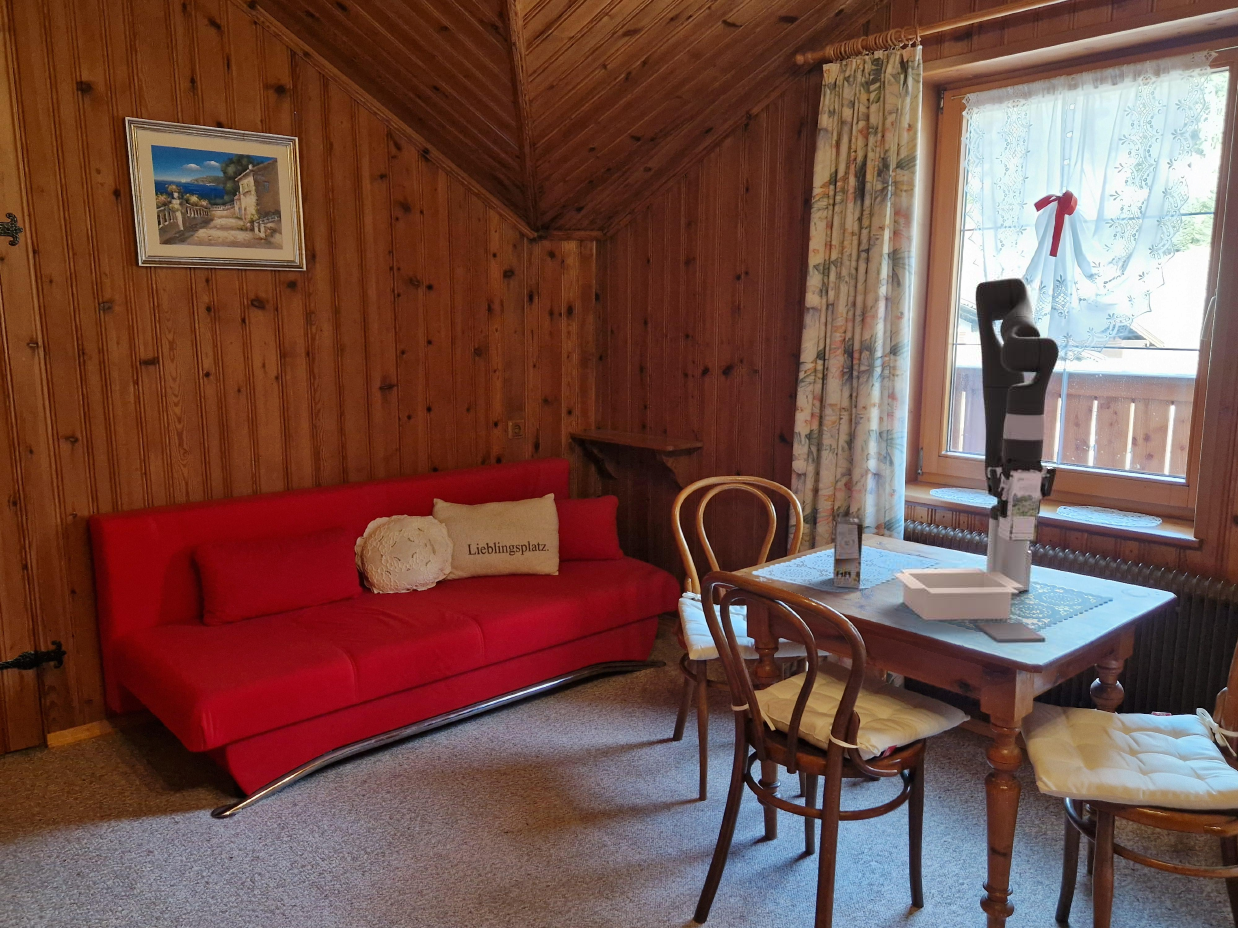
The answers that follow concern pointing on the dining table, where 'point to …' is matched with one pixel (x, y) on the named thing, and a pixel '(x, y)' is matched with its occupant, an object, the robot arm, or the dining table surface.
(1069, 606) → the dining table surface
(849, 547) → the coffee box
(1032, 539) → the syrup box
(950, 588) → the carton
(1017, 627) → the coaster
